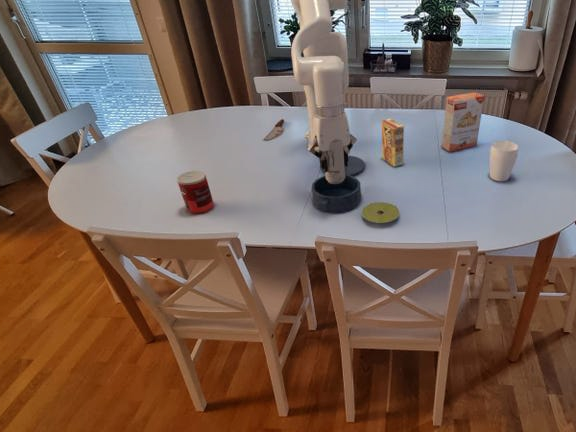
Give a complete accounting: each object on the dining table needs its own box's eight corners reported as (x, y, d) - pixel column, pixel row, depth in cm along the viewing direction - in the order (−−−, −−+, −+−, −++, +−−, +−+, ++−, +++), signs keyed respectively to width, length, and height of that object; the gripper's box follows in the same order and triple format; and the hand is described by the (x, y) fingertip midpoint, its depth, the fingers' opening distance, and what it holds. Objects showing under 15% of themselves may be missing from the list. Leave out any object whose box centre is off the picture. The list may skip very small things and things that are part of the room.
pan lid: (313, 174, 140) (311, 158, 137) (332, 155, 153) (330, 140, 150) (355, 181, 136) (354, 165, 133) (371, 161, 149) (370, 146, 145)
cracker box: (449, 153, 155) (455, 100, 143) (441, 147, 160) (445, 96, 148) (477, 146, 160) (485, 95, 149) (468, 141, 165) (475, 91, 153)
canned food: (191, 201, 125) (181, 171, 119) (217, 200, 126) (208, 170, 119) (183, 215, 119) (172, 183, 113) (210, 213, 119) (201, 182, 113)
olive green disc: (368, 204, 124) (368, 199, 123) (403, 210, 121) (403, 204, 120) (356, 224, 115) (356, 218, 114) (393, 230, 112) (393, 225, 111)
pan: (300, 212, 120) (298, 197, 117) (329, 181, 136) (327, 167, 133) (346, 221, 116) (345, 205, 113) (370, 188, 132) (370, 173, 129)
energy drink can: (322, 182, 120) (317, 136, 112) (331, 174, 125) (327, 129, 117) (339, 186, 119) (336, 140, 110) (348, 177, 123) (346, 132, 115)
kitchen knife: (273, 139, 165) (262, 137, 165) (273, 143, 166) (262, 140, 166) (291, 120, 182) (281, 118, 182) (291, 123, 183) (281, 121, 183)
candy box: (403, 164, 147) (404, 125, 138) (394, 167, 145) (395, 128, 136) (390, 156, 153) (390, 118, 144) (381, 158, 151) (381, 120, 142)
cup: (513, 173, 141) (519, 142, 134) (511, 185, 134) (518, 152, 127) (487, 169, 143) (492, 138, 137) (484, 180, 136) (489, 149, 130)
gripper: (351, 100, 116) (353, 156, 126) (295, 111, 108) (303, 169, 118) (363, 108, 110) (365, 165, 121) (306, 119, 103) (313, 179, 113)
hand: (334, 166), depth 119 cm, fingers closed on energy drink can, 6 cm apart
